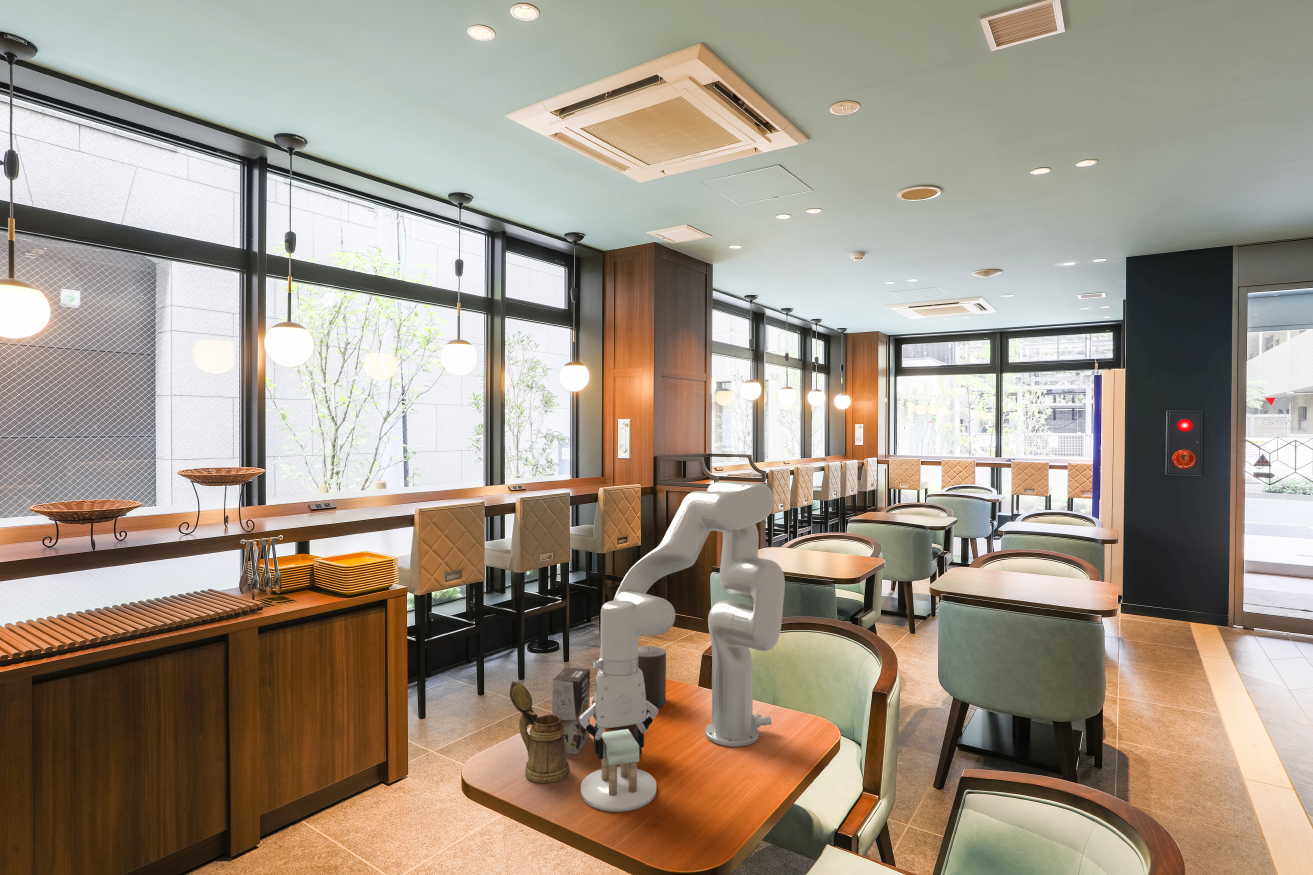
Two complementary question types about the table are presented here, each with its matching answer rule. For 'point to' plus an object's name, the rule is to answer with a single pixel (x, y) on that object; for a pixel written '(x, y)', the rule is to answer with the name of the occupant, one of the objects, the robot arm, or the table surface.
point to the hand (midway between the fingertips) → (618, 753)
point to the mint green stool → (619, 759)
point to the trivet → (618, 792)
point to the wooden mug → (540, 739)
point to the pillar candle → (653, 673)
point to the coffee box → (572, 705)
